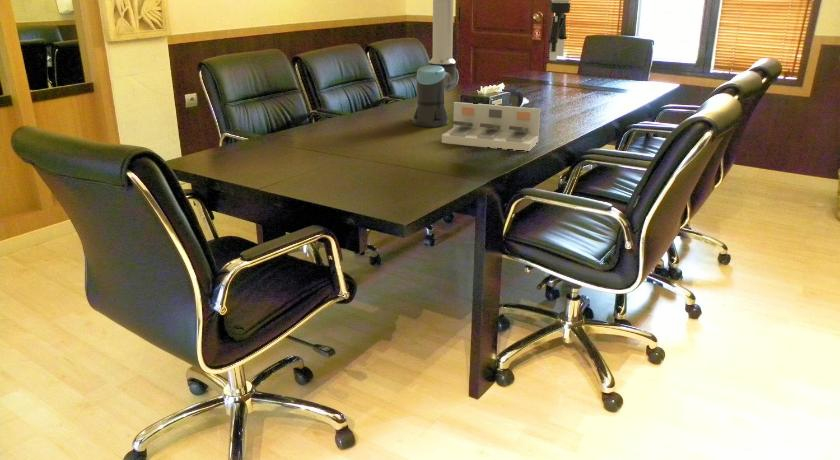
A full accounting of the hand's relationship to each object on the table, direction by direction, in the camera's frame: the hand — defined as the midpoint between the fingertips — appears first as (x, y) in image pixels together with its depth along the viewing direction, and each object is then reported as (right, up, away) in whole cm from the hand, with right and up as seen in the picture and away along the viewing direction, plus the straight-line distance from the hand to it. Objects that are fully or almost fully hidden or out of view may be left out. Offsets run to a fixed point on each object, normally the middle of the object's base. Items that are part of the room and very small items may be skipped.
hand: (556, 58), depth 258 cm
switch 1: (-39, -29, -13) cm, 50 cm away
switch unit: (-28, -36, -14) cm, 48 cm away
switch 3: (-18, -32, -21) cm, 42 cm away
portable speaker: (-19, -14, +40) cm, 46 cm away
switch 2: (-29, -30, -17) cm, 45 cm away
